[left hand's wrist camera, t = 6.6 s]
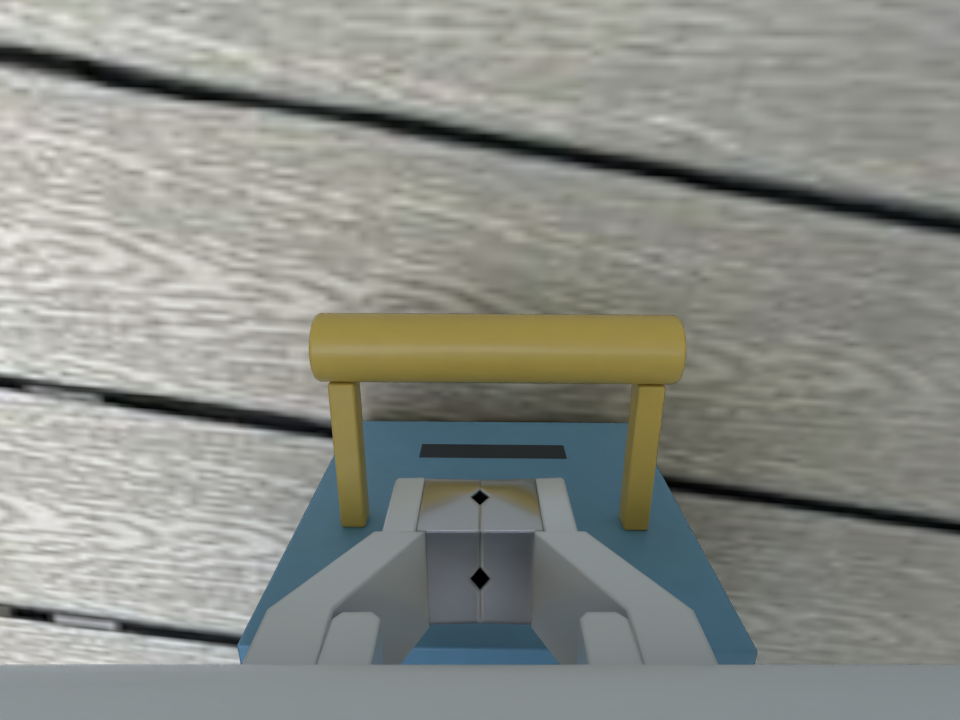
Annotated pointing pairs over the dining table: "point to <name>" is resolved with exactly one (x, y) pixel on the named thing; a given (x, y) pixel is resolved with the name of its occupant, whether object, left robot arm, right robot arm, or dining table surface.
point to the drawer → (506, 456)
